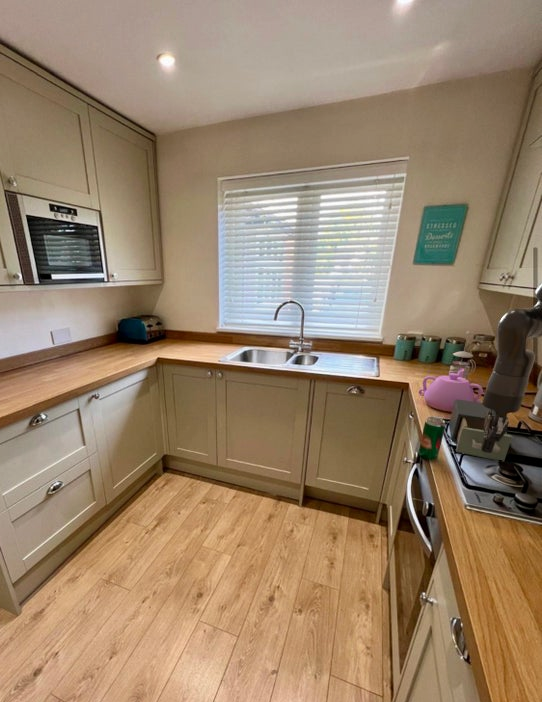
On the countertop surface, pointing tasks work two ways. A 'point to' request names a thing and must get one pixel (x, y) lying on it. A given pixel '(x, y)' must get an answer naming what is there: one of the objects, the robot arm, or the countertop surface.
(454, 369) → the french press
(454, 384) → the teapot
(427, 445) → the soda can
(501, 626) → the countertop surface
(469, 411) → the cabinet
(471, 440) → the drawer
